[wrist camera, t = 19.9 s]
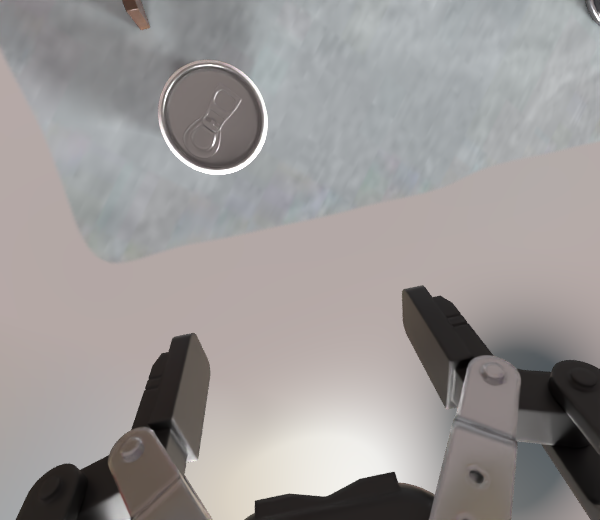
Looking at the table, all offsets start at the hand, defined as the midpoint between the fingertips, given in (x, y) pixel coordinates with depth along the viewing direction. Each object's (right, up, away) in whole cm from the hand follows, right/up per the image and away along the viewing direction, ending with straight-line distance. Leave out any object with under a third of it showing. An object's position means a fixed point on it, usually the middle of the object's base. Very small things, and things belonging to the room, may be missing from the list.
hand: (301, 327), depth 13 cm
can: (-7, +15, +17) cm, 24 cm away
